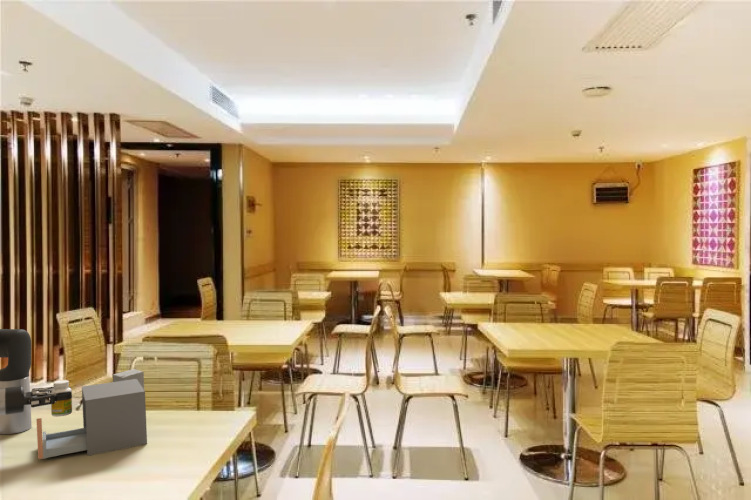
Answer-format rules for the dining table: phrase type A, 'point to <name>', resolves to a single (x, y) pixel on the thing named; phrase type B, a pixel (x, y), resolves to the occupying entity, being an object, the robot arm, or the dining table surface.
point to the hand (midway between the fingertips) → (71, 392)
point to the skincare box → (130, 376)
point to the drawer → (60, 441)
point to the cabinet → (114, 416)
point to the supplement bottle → (63, 405)
